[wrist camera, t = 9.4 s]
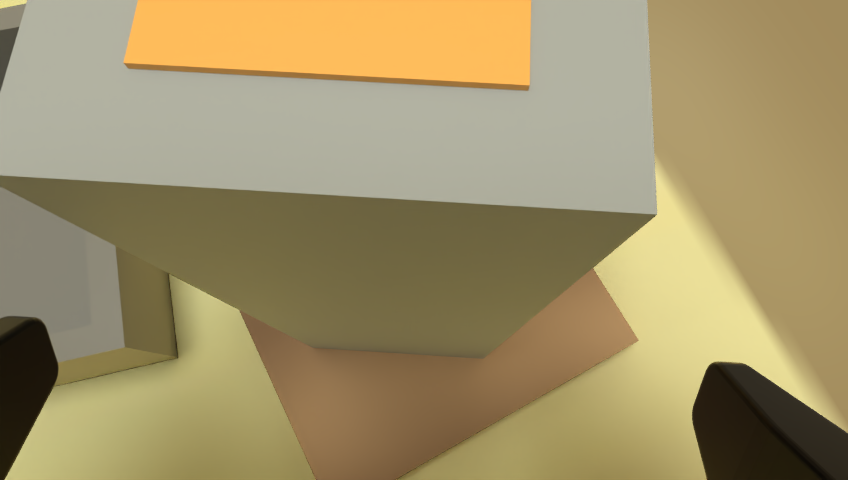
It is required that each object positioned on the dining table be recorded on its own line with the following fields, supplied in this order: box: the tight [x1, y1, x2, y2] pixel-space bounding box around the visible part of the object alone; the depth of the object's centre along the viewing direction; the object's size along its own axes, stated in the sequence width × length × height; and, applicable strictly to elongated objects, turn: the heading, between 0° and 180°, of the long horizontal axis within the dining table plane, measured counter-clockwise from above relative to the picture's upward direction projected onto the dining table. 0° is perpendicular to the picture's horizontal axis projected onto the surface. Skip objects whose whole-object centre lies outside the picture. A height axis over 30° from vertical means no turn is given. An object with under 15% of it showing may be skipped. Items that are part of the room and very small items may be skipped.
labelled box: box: [0, 0, 657, 359], centre depth 10 cm, size 4×5×12 cm
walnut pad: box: [240, 268, 639, 480], centre depth 16 cm, size 9×9×1 cm
